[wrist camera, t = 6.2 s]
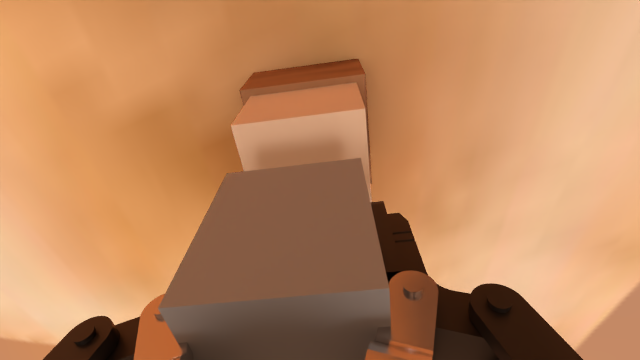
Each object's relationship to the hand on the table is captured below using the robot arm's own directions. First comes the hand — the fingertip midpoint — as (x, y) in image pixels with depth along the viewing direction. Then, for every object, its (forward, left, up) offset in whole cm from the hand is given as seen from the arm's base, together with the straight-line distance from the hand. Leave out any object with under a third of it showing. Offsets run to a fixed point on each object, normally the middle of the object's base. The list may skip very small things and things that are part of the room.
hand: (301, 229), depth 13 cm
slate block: (0, 0, -1) cm, 1 cm away
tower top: (0, 0, -8) cm, 8 cm away
